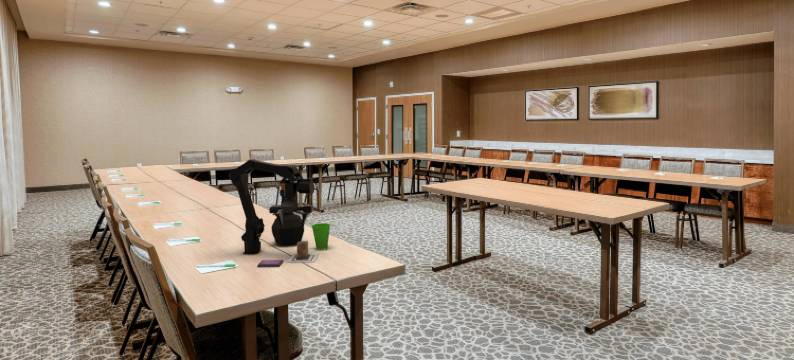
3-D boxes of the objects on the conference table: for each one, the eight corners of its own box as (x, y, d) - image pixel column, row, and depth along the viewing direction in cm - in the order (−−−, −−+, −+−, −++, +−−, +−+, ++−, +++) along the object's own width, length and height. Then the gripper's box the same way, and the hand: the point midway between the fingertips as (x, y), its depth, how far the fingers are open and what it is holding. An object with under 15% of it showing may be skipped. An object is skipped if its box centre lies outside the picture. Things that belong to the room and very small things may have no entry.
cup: (327, 250, 223) (326, 227, 222) (309, 250, 225) (308, 226, 224) (334, 245, 232) (333, 223, 231) (316, 245, 234) (315, 222, 233)
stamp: (296, 259, 208) (295, 244, 208) (298, 256, 213) (297, 241, 213) (307, 259, 208) (307, 243, 208) (309, 256, 213) (309, 240, 212)
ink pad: (257, 267, 200) (257, 264, 200) (262, 262, 207) (262, 259, 207) (279, 266, 200) (279, 264, 200) (283, 262, 207) (283, 259, 207)
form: (286, 262, 206) (286, 261, 206) (292, 255, 217) (292, 254, 217) (314, 262, 205) (314, 261, 205) (319, 255, 216) (319, 254, 216)
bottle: (310, 244, 236) (307, 183, 233) (277, 249, 228) (273, 185, 225) (299, 237, 250) (297, 179, 246) (267, 242, 242) (264, 182, 238)
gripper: (264, 196, 208) (266, 232, 210) (308, 195, 208) (309, 231, 209) (271, 192, 219) (273, 226, 221) (313, 192, 219) (314, 226, 221)
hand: (292, 227), depth 218 cm, fingers open, 9 cm apart
